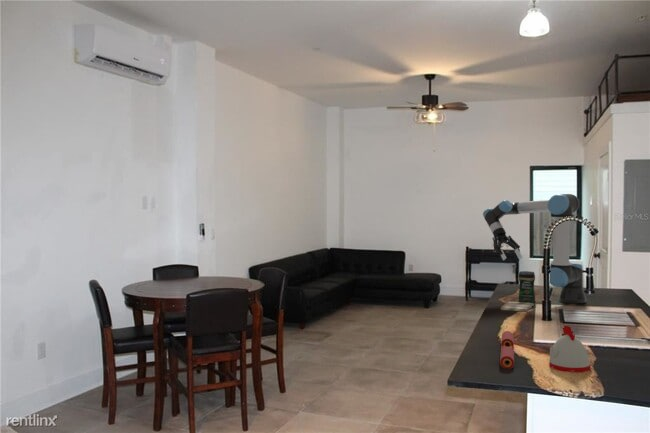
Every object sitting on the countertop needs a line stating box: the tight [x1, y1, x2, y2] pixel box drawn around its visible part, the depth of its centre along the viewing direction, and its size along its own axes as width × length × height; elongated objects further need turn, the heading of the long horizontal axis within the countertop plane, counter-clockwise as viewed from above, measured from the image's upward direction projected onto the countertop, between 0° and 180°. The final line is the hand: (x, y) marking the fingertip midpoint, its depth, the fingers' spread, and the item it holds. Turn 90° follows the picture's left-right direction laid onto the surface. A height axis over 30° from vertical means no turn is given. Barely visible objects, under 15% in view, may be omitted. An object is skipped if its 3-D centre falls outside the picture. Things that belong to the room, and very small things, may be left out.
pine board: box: [500, 301, 535, 312], centre depth 324 cm, size 14×20×2 cm
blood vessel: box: [499, 330, 515, 370], centre depth 227 cm, size 42×5×5 cm, turn 162°
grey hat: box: [548, 325, 591, 373], centre depth 208 cm, size 14×14×15 cm
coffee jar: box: [517, 270, 536, 303], centre depth 342 cm, size 10×8×19 cm
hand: (512, 258), depth 348 cm, fingers open, 13 cm apart
